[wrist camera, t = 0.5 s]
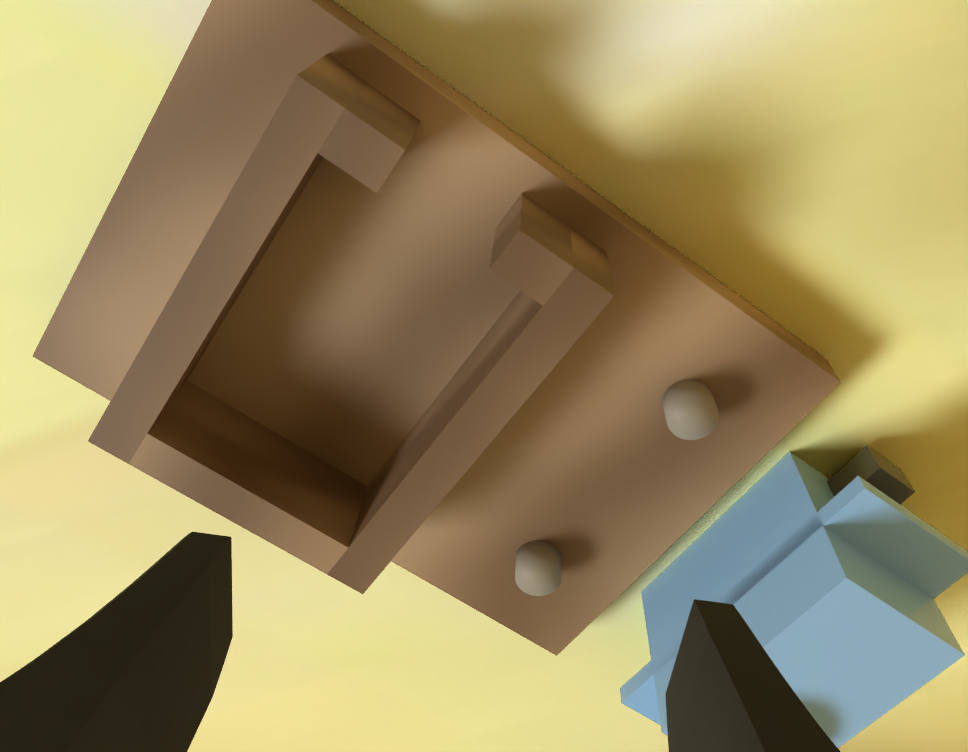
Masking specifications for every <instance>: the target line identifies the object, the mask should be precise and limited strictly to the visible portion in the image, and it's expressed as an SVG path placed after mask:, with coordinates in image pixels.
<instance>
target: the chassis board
mask: <svg viewBox="0 0 968 752" xmlns="http://www.w3.org/2000/svg"><path fill="white" fill-rule="evenodd" d="M33 357H35V358H36V359H38V360H40V361H42V362H43V363H45V364H47V365H49V366H50V367H52V368H54V369H56V370H57V371H59V372H61V373H63V374H64V375H66V376H68V377H70V378H71V379H73V380H75V381H77V382H78V383H80V384H82V385H84V386H85V387H87V388H89V389H91V390H92V391H94V392H96V393H98V394H99V395H101V396H103V397H105V398H106V399H108V400H110V401H111V402H110V403H109V405H108V407H107V409H106V410H105V412H104V414H103V416H102V417H101V419H100V421H99V423H98V424H97V426H96V428H95V430H94V431H93V433H92V435H91V437H90V438H89V440H88V441H89V442H90V443H92V444H94V445H96V446H97V447H99V448H101V449H103V450H105V451H106V452H108V453H110V454H112V455H114V456H115V457H117V458H119V459H121V460H123V461H124V462H126V463H128V464H130V465H132V466H133V467H135V468H137V469H139V470H141V471H142V472H144V473H146V474H148V475H150V476H151V477H153V478H155V479H157V480H159V481H160V482H162V483H164V484H166V485H168V486H169V487H171V488H173V489H175V490H177V491H178V492H180V493H182V494H184V495H186V496H187V497H189V498H191V499H193V500H195V501H196V502H198V503H200V504H202V505H203V506H205V507H207V508H209V509H211V510H212V511H214V512H216V513H218V514H220V515H221V516H223V517H225V518H227V519H229V520H230V521H232V522H234V523H236V524H238V525H239V526H241V527H243V528H245V529H247V530H248V531H250V532H252V533H254V534H256V535H257V536H259V537H261V538H263V539H265V540H266V541H268V542H270V543H272V544H274V545H275V546H277V547H279V548H281V549H283V550H284V551H286V552H288V553H290V554H292V555H293V556H295V557H297V558H299V559H301V560H302V561H304V562H306V563H308V564H310V565H311V566H313V567H315V568H317V569H318V570H320V571H322V572H324V573H326V574H327V575H329V576H331V577H333V578H335V579H336V580H338V581H340V582H342V583H344V584H345V585H347V586H349V587H351V588H353V589H354V590H356V591H358V592H360V593H362V594H363V593H364V592H365V591H366V590H367V589H368V587H369V586H370V585H371V584H372V583H373V581H374V580H375V579H376V578H377V577H378V576H379V574H380V573H381V572H382V571H383V570H384V568H385V567H386V566H387V565H388V564H389V563H390V561H392V562H394V563H395V564H397V565H399V566H401V567H402V568H404V569H406V570H408V571H409V572H411V573H413V574H415V575H416V576H418V577H420V578H422V579H423V580H425V581H427V582H429V583H430V584H432V585H434V586H436V587H437V588H439V589H441V590H443V591H444V592H446V593H448V594H450V595H451V596H453V597H455V598H457V599H458V600H460V601H462V602H464V603H465V604H467V605H469V606H471V607H472V608H474V609H476V610H478V611H479V612H481V613H483V614H485V615H486V616H488V617H490V618H492V619H493V620H495V621H497V622H499V623H500V624H502V625H504V626H506V627H507V628H509V629H511V630H513V631H514V632H516V633H518V634H520V635H521V636H523V637H525V638H527V639H528V640H530V641H532V642H534V643H535V644H537V645H539V646H541V647H542V648H544V649H546V650H548V651H549V652H551V653H553V654H555V655H556V656H557V655H558V654H559V653H560V652H561V651H562V650H563V649H564V648H565V647H566V646H567V645H568V644H569V643H570V642H571V641H573V640H574V639H575V638H576V637H577V636H578V635H579V634H580V633H581V632H582V631H583V630H584V629H585V628H586V627H587V626H588V625H589V624H590V623H591V622H592V621H593V620H594V619H595V618H596V617H597V616H598V615H600V614H601V613H602V612H603V611H604V610H605V609H606V608H607V607H608V606H609V605H610V604H611V603H612V602H613V601H614V600H615V599H616V598H617V597H618V596H619V595H620V594H621V593H622V592H623V591H624V590H625V589H627V588H628V587H629V586H630V585H631V584H632V583H633V582H634V581H635V580H636V579H637V578H638V577H639V576H640V575H641V574H642V573H643V572H644V571H645V570H646V569H647V568H648V567H649V566H650V565H651V564H652V563H654V562H655V561H656V560H657V559H658V558H659V557H660V556H661V555H662V554H663V553H664V552H665V551H666V550H667V549H668V548H669V547H670V546H671V545H672V544H673V543H674V542H675V541H676V540H677V539H678V538H679V537H681V536H682V535H683V534H684V533H685V532H686V531H687V530H688V529H689V528H690V527H691V526H692V525H693V524H694V523H695V522H696V521H697V520H698V519H699V518H700V517H701V516H702V515H703V514H704V513H705V512H706V511H708V510H709V509H710V508H711V507H712V506H713V505H714V504H715V503H716V502H717V501H718V500H719V499H720V498H721V497H722V496H723V495H724V494H725V493H726V492H727V491H728V490H729V489H730V488H731V487H732V486H733V485H735V484H736V483H737V482H738V481H739V480H740V479H741V478H742V477H743V476H744V475H745V474H746V473H747V472H748V471H749V470H750V469H751V468H752V467H753V466H754V465H755V464H756V463H757V462H758V461H759V460H760V459H762V458H763V457H764V456H765V455H766V454H767V453H768V452H769V451H770V450H771V449H772V448H773V447H774V446H775V445H776V444H777V443H778V442H779V441H780V440H781V439H782V438H783V437H784V436H785V435H786V434H787V433H789V432H790V431H791V430H792V429H793V428H794V427H795V426H796V425H797V424H798V423H799V422H800V421H801V420H802V419H803V418H804V417H805V416H806V415H807V414H808V413H809V412H810V411H811V410H812V409H813V408H814V407H816V406H817V405H818V404H819V403H820V402H821V401H822V400H823V399H824V398H825V397H826V396H827V395H828V394H829V393H830V392H831V391H832V390H833V389H834V388H835V387H836V386H837V385H838V384H839V383H840V380H839V379H838V377H837V375H836V374H835V372H834V371H833V369H832V367H831V366H830V364H829V363H828V361H827V359H825V358H824V357H823V356H821V355H820V354H819V353H817V352H816V351H814V350H813V349H812V348H810V347H809V346H808V345H806V344H805V343H803V342H802V341H801V340H799V339H798V338H797V337H795V336H794V335H792V334H791V333H790V332H788V331H787V330H785V329H784V328H783V327H781V326H780V325H779V324H777V323H776V322H774V321H773V320H772V319H770V318H769V317H768V316H766V315H765V314H763V313H762V312H761V311H759V310H758V309H757V308H755V307H754V306H752V305H751V304H750V303H748V302H747V301H746V300H744V299H743V298H741V297H740V296H739V295H737V294H736V293H734V292H733V291H732V290H730V289H729V288H728V287H726V286H725V285H723V284H722V283H721V282H719V281H718V280H717V279H715V278H714V277H712V276H711V275H710V274H708V273H707V272H706V271H704V270H703V269H701V268H700V267H699V266H697V265H696V264H695V263H693V262H692V261H690V260H689V259H688V258H686V257H685V256H684V255H682V254H681V253H679V252H678V251H677V250H675V249H674V248H672V247H671V246H670V245H668V244H667V243H666V242H664V241H663V240H661V239H660V238H659V237H657V236H656V235H655V234H653V233H652V232H650V231H649V230H648V229H646V228H645V227H644V226H642V225H641V224H639V223H638V222H637V221H635V220H634V219H633V218H631V217H630V216H628V215H627V214H626V213H624V212H623V211H622V210H620V209H619V208H617V207H616V206H615V205H613V204H612V203H610V202H609V201H608V200H606V199H605V198H604V197H602V196H601V195H599V194H598V193H597V192H595V191H594V190H593V189H591V188H590V187H588V186H587V185H586V184H584V183H583V182H582V181H580V180H579V179H577V178H576V177H575V176H573V175H572V174H571V173H569V172H568V171H566V170H565V169H564V168H562V167H561V166H559V165H558V164H557V163H555V162H554V161H553V160H551V159H550V158H548V157H547V156H546V155H544V154H543V153H542V152H540V151H539V150H537V149H536V148H535V147H533V146H532V145H531V144H529V143H528V142H526V141H525V140H524V139H522V138H521V137H520V136H518V135H517V134H515V133H514V132H513V131H511V130H510V129H509V128H507V127H506V126H504V125H503V124H502V123H500V122H499V121H497V120H496V119H495V118H493V117H492V116H491V115H489V114H488V113H486V112H485V111H484V110H482V109H481V108H480V107H478V106H477V105H475V104H474V103H473V102H471V101H470V100H469V99H467V98H466V97H464V96H463V95H462V94H460V93H459V92H458V91H456V90H455V89H453V88H452V87H451V86H449V85H448V84H446V83H445V82H444V81H442V80H441V79H440V78H438V77H437V76H435V75H434V74H433V73H431V72H430V71H429V70H427V69H426V68H424V67H423V66H422V65H420V64H419V63H418V62H416V61H415V60H413V59H412V58H411V57H409V56H408V55H407V54H405V53H404V52H402V51H401V50H400V49H398V48H397V47H396V46H394V45H393V44H391V43H390V42H389V41H387V40H386V39H384V38H383V37H382V36H380V35H379V34H378V33H376V32H375V31H373V30H372V29H371V28H369V27H368V26H367V25H365V24H364V23H362V22H361V21H360V20H358V19H357V18H356V17H354V16H353V15H351V14H350V13H349V12H347V11H346V10H345V9H343V8H342V7H340V6H339V5H338V4H336V3H335V2H333V1H332V0H212V1H211V3H210V5H209V7H208V9H207V11H206V13H205V15H204V17H203V19H202V21H201V23H200V25H199V27H198V29H197V31H196V33H195V35H194V37H193V39H192V41H191V43H190V45H189V47H188V49H187V51H186V53H185V55H184V57H183V59H182V61H181V63H180V65H179V67H178V69H177V71H176V73H175V75H174V77H173V79H172V81H171V82H170V84H169V86H168V88H167V90H166V92H165V94H164V96H163V98H162V100H161V102H160V104H159V106H158V108H157V110H156V112H155V114H154V116H153V118H152V120H151V122H150V124H149V126H148V128H147V130H146V132H145V134H144V136H143V138H142V140H141V142H140V144H139V146H138V148H137V150H136V152H135V154H134V156H133V158H132V160H131V162H130V164H129V166H128V168H127V170H126V172H125V174H124V176H123V178H122V180H121V182H120V184H119V186H118V188H117V190H116V192H115V194H114V196H113V198H112V199H111V201H110V203H109V205H108V207H107V209H106V211H105V213H104V215H103V217H102V219H101V221H100V223H99V225H98V227H97V229H96V231H95V233H94V235H93V237H92V239H91V241H90V243H89V245H88V247H87V249H86V251H85V253H84V255H83V257H82V259H81V261H80V263H79V265H78V267H77V269H76V271H75V273H74V275H73V277H72V279H71V281H70V283H69V285H68V287H67V289H66V291H65V293H64V295H63V297H62V299H61V301H60V303H59V305H58V307H57V309H56V311H55V313H54V315H53V317H52V318H51V320H50V322H49V324H48V326H47V328H46V330H45V332H44V334H43V336H42V338H41V340H40V342H39V344H38V346H37V348H36V350H35V352H34V354H33Z"/></svg>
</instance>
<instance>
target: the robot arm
mask: <svg viewBox="0 0 968 752" xmlns="http://www.w3.org/2000/svg"><path fill="white" fill-rule="evenodd" d="M231 639H232V558H231V537H227V536H220V535H213V534H205V533H198V532H191V533H190V534H188V535H187V536H186V537H184V538H183V539H182V540H181V541H180V542H179V543H177V544H176V545H175V546H174V547H173V548H172V549H171V550H170V551H168V552H167V553H166V554H165V555H164V556H163V557H162V558H160V559H159V560H158V561H157V562H156V563H155V564H154V565H153V566H151V567H150V568H149V569H148V570H147V571H146V572H145V573H143V574H142V575H141V576H140V577H139V578H138V579H136V580H135V581H134V582H133V583H132V584H131V585H129V586H128V587H127V588H126V589H125V590H123V591H122V592H121V593H120V594H119V595H117V596H116V597H115V598H114V599H113V600H111V601H110V602H109V603H108V604H106V605H105V606H104V607H103V608H102V609H100V610H99V611H98V612H97V613H95V614H94V615H93V616H92V617H91V618H89V619H88V620H87V621H85V622H84V623H83V624H82V625H80V626H79V627H78V628H76V629H75V630H74V631H72V632H71V633H70V634H68V635H67V636H66V637H64V638H63V639H61V640H60V641H59V642H57V643H56V644H55V645H53V646H52V647H51V648H49V649H48V650H47V651H45V652H44V653H43V654H41V655H40V656H39V657H37V658H36V659H34V660H33V661H31V662H30V663H28V664H27V665H26V666H24V667H23V668H21V669H20V670H18V671H17V672H15V673H14V674H12V675H11V676H9V677H8V678H6V679H5V680H3V681H2V682H0V752H187V750H188V748H189V746H190V744H191V742H192V740H193V738H194V735H195V733H196V731H197V729H198V727H199V725H200V723H201V720H202V718H203V716H204V714H205V712H206V710H207V708H208V705H209V703H210V701H211V699H212V697H213V694H214V691H215V688H216V685H217V682H218V679H219V676H220V673H221V670H222V667H223V664H224V661H225V658H226V655H227V652H228V649H229V646H230V643H231ZM665 696H666V714H667V731H668V744H669V752H840V750H839V749H838V748H837V747H836V746H835V744H834V743H833V742H832V741H831V740H830V738H829V737H828V736H827V734H826V733H825V732H824V731H823V729H822V728H821V727H820V726H819V724H818V723H817V722H816V720H815V719H814V718H813V716H812V715H811V714H810V712H809V711H808V710H807V708H806V707H805V706H804V704H803V703H802V702H801V700H800V699H799V698H798V696H797V695H796V694H795V692H794V691H793V690H792V688H791V687H790V685H789V684H788V683H787V681H786V680H785V678H784V677H783V676H782V674H781V673H780V671H779V670H778V668H777V667H776V666H775V664H774V663H773V661H772V660H771V658H770V657H769V656H768V654H767V653H766V651H765V650H764V648H763V647H762V645H761V644H760V642H759V641H758V639H757V638H756V637H755V635H754V634H753V632H752V631H751V629H750V628H749V626H748V625H747V623H746V622H745V620H744V619H743V618H742V616H741V615H740V613H739V612H738V610H737V609H736V608H735V606H734V605H733V604H727V603H720V602H712V601H705V600H697V599H694V600H693V604H692V607H691V610H690V614H689V617H688V620H687V624H686V627H685V630H684V634H683V637H682V640H681V644H680V647H679V650H678V654H677V657H676V660H675V664H674V667H673V670H672V674H671V677H670V681H669V684H668V687H667V691H666V694H665Z"/></svg>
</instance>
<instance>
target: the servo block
mask: <svg viewBox="0 0 968 752" xmlns="http://www.w3.org/2000/svg"><path fill="white" fill-rule="evenodd" d="M914 492H915V491H914V490H913V488H912V486H911V485H910V483H909V482H908V480H907V479H906V477H905V475H904V474H903V472H902V471H901V469H900V468H898V467H897V466H895V465H894V464H893V463H891V462H890V461H888V460H887V459H885V458H884V457H883V456H881V455H880V454H878V453H877V452H875V451H874V450H873V449H871V448H870V447H868V446H866V447H865V448H863V449H862V450H861V451H860V452H859V453H858V454H857V455H856V456H855V457H854V458H852V459H851V460H850V461H849V462H848V463H847V464H846V465H845V466H844V467H843V468H841V469H840V470H839V471H838V472H837V473H836V474H835V475H834V476H833V477H831V478H830V479H829V478H827V477H826V476H825V475H823V474H822V473H820V472H819V471H817V470H816V469H814V468H813V467H811V466H810V465H808V464H807V463H806V462H804V461H803V460H801V459H800V458H798V457H797V456H795V455H794V454H792V453H791V452H788V453H787V454H786V455H785V456H784V457H783V458H782V459H781V460H780V461H779V462H778V463H777V464H776V465H774V466H773V467H772V468H771V469H770V470H769V471H768V472H767V473H766V474H765V475H764V476H763V477H762V478H761V479H760V480H759V481H758V482H757V483H756V484H754V485H753V486H752V487H751V488H750V489H749V490H748V491H747V492H746V493H745V494H744V495H743V496H742V497H741V498H740V499H739V500H738V501H737V502H736V503H734V504H733V505H732V506H731V507H730V508H729V509H728V510H727V511H726V512H725V513H724V514H723V515H722V516H721V517H720V518H719V519H718V520H717V521H716V522H714V523H713V524H712V525H711V526H710V527H709V528H708V529H707V530H706V531H705V532H704V533H703V534H702V535H701V536H700V537H699V538H698V539H697V540H696V541H694V542H693V543H692V544H691V545H690V546H689V547H688V548H687V549H686V550H685V551H684V552H683V553H682V554H681V555H680V556H679V557H678V558H677V559H676V560H674V561H673V562H672V563H671V564H670V565H669V566H668V567H667V568H666V569H665V570H664V571H663V572H662V573H661V574H660V575H659V576H658V577H657V578H656V579H654V580H653V581H652V582H651V583H650V584H649V585H648V586H647V587H646V588H645V589H644V590H643V591H642V592H641V593H642V600H643V607H644V613H645V620H646V627H647V634H648V641H649V647H650V654H651V661H650V662H649V663H648V664H647V665H646V666H644V667H643V668H642V669H641V670H640V671H639V672H638V673H637V674H636V675H634V676H633V677H632V678H631V679H630V680H629V681H628V682H627V683H625V684H624V685H623V686H622V687H621V688H620V693H621V703H622V704H624V705H626V706H628V707H629V708H631V709H633V710H635V711H636V712H638V713H640V714H642V715H643V716H645V717H647V718H649V719H651V720H652V721H654V722H656V723H658V724H659V725H661V729H662V732H663V733H664V734H666V735H668V731H667V714H666V696H665V694H666V691H667V687H668V684H669V681H670V677H671V674H672V670H673V667H674V664H675V660H676V657H677V654H678V650H679V647H680V644H681V640H682V637H683V634H684V630H685V627H686V624H687V620H688V617H689V614H690V610H691V607H692V604H693V600H694V599H697V600H705V601H712V602H720V603H727V604H733V605H734V606H735V608H736V609H737V610H738V612H739V613H740V615H741V616H742V618H743V619H744V620H745V622H746V623H747V625H748V626H749V628H750V629H751V631H752V632H753V634H754V635H755V637H756V638H757V639H758V641H759V642H760V644H761V645H762V647H763V648H764V650H765V651H766V653H767V654H768V656H769V657H770V658H771V660H772V661H773V663H774V664H775V666H776V667H777V668H778V670H779V671H780V673H781V674H782V676H783V677H784V678H785V680H786V681H787V683H788V684H789V685H790V687H791V688H792V690H793V691H794V692H795V694H796V695H797V696H798V698H799V699H800V700H801V702H802V703H803V704H804V706H805V707H806V708H807V710H808V711H809V712H810V714H811V715H812V716H813V718H814V719H815V720H816V722H817V723H818V724H819V726H820V727H821V728H822V729H823V731H824V732H825V733H826V734H827V736H828V737H829V738H830V740H831V741H832V742H833V743H834V744H835V746H836V747H837V748H839V747H840V746H841V745H843V744H844V743H846V742H847V741H848V740H850V739H851V738H852V737H854V736H855V735H856V734H858V733H859V732H861V731H862V730H863V729H865V728H866V727H867V726H869V725H870V724H871V723H873V722H874V721H876V720H877V719H878V718H880V717H881V716H882V715H884V714H885V713H886V712H888V711H889V710H891V709H892V708H893V707H895V706H896V705H897V704H899V703H900V702H901V701H903V700H904V699H906V698H907V697H908V696H910V695H911V694H912V693H914V692H915V691H916V690H918V689H919V688H921V687H922V686H923V685H925V684H926V683H927V682H929V681H930V680H931V679H933V678H934V677H936V676H937V675H938V674H940V673H941V672H942V671H944V670H945V669H946V668H948V667H949V666H951V665H952V664H953V663H955V662H956V661H957V660H959V659H960V658H961V657H963V656H964V655H965V654H964V653H963V651H962V649H961V647H960V645H959V644H958V642H957V640H956V638H955V637H954V635H953V633H952V631H951V630H950V628H949V626H948V624H947V622H946V621H945V619H944V617H943V615H942V614H941V612H940V610H939V608H938V606H937V605H936V603H935V601H934V598H935V597H937V596H938V595H939V594H940V593H942V592H943V591H944V590H946V589H947V588H948V587H949V586H951V585H952V584H953V583H954V582H956V581H957V580H958V579H960V578H961V577H962V576H963V575H965V574H966V573H967V572H968V551H966V550H965V549H963V548H962V547H961V546H959V545H958V544H956V543H955V542H953V541H952V540H950V539H949V538H948V537H946V536H945V535H943V534H942V533H940V532H939V531H937V530H936V529H935V528H933V527H932V526H930V525H929V524H927V523H926V522H924V521H923V520H922V519H920V518H919V517H917V516H916V515H914V514H913V513H911V512H910V511H909V510H907V509H906V508H904V507H903V506H901V505H900V504H901V503H902V502H904V501H905V500H906V499H907V498H908V497H909V496H911V495H912V494H913V493H914Z"/></svg>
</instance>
